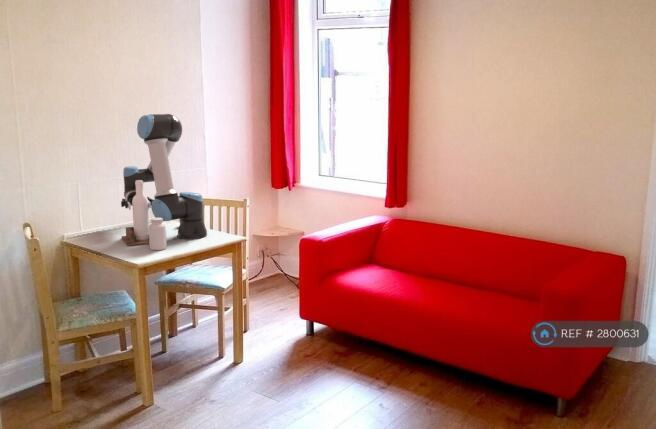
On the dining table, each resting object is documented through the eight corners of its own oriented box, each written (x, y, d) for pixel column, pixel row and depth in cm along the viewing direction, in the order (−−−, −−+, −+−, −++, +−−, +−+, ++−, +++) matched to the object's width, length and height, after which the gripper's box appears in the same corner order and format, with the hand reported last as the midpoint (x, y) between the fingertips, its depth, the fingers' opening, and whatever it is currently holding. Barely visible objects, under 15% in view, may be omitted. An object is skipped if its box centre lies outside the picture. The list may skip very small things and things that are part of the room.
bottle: (152, 236, 314) (149, 179, 308) (146, 240, 307) (143, 182, 300) (137, 236, 315) (134, 179, 309) (131, 240, 307) (128, 181, 301)
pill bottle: (169, 247, 299) (168, 217, 296) (161, 251, 292) (160, 220, 288) (154, 245, 301) (153, 216, 298) (146, 250, 293) (144, 219, 290)
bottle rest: (164, 242, 307) (164, 230, 306) (127, 246, 299) (127, 234, 298) (156, 234, 323) (156, 223, 322) (121, 238, 315) (120, 226, 313)
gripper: (155, 203, 329) (162, 211, 309) (113, 206, 320) (117, 215, 300) (154, 190, 327) (161, 197, 307) (112, 192, 319) (116, 200, 299)
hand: (140, 206), depth 304 cm, fingers open, 9 cm apart
